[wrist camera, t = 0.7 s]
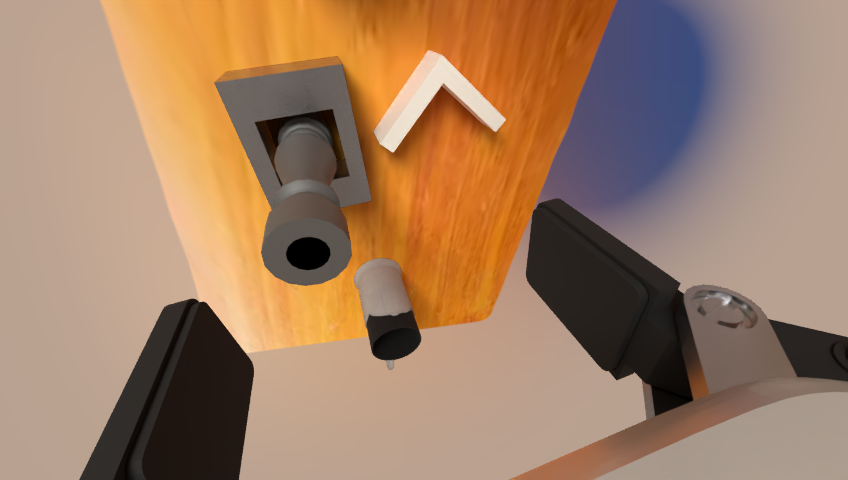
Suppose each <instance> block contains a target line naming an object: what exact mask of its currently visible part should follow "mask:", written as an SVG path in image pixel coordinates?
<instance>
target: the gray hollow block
mask: <svg viewBox="0 0 848 480" xmlns="http://www.w3.org/2000/svg"><path fill="white" fill-rule="evenodd" d="M214 83H215V86H216V88H217V90H218V92H219V94H220V97H221V99H222V101H223V103H224V105H225V108H226V110H227V112H228V114H229V116H230V118H231V121H232V123H233V125H234V127H235V129H236V132H237V134H238V136H239V138H240V140H241V143H242V145H243V147H244V149H245V151H246V154H247V156H248V158H249V160H250V162H251V165H252V167H253V169H254V171H255V173H256V176H257V178H258V180H259V182H260V184H261V187H262V189H263V191H264V193H265V195H266V198H267V200H268V202H269V204H270V206H271V209H273V206H272V204H273V201H274V197H275V194H276V192H277V191H278V190H279V189H280V187H281V186H282V185H283V184H282V182H281V179H280V177H279V175H278V173H277V171H276V167H275V162H274V158H275V154H276V150H277V149H276V146H275V143H274V141H273V138H272V136H271V133H270V131H269V128H268V125H267V123H266V120H269V119H275V118H281V117H287V116H293V115H299V114H305V113H310V112H316V111H322V110H328V109H333V113H334V117H335V121H336V125H337V129H338V133H339V137H340V141H341V145H342V149H343V153H344V156H345V158H342V159H337V160H336V163H337V170H336V172H335V175H334V178H333V180H332V183H331V185H330V187H331V188H333V189H334V191H335V193H336V195H337V196H338V198H339V201H340V208H342V207H346V206H350V205H355V204H359V203H364V202H368V201H372V199H371V194H370V190H369V185H368V180H367V176H366V171H365V167H364V162H363V157H362V153H361V148H360V144H359V139H358V134H357V130H356V125H355V121H354V116H353V111H352V107H351V102H350V98H349V93H348V88H347V84H346V79H345V74H344V70H343V65H342V63H341V61H340V60H339V58H338V57H337V56H335V57H328V58H321V59H314V60H307V61H300V62H293V63H286V64H278V65H271V66H264V67H257V68H250V69H243V70H236V71H228V72H225V73H224V74H223V75H222V76H221V77H220V78H219V79H218V80H216V81H215V82H214Z"/></svg>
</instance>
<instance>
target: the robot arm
mask: <svg viewBox="0 0 848 480" xmlns="http://www.w3.org/2000/svg"><path fill="white" fill-rule="evenodd" d="M526 278H527V281H528V282H529V284H530V285H531V287H532V288H533V289H534V290H535V291H536V292H537V294H538V295H539V296H540V297H541V298H542V300H543V301H544V302H545V303H546V304H547V305H548V307H549V308H550V309H551V310H552V311H553V312H554V314H555V315H556V316H557V317H558V318H559V319H560V321H561V322H562V323H563V324H564V325H565V326H566V328H567V329H568V330H569V331H570V332H571V333H572V335H573V336H574V337H575V338H576V339H577V341H578V342H579V343H580V344H581V345H582V347H583V348H584V349H585V350H586V351H587V352H588V354H589V355H590V356H591V357H592V358H593V360H594V361H595V362H596V363H597V364H598V365H599V366H600V367H601V368H602V369H603V370H605V371H609V372H610V373H611V374H612V375H613V377H614V378H615V379H616V380H619V379H621V378H624V377H626V376H629V375H631V374H633V373H634V372H635V373H636V374H637V375H638V376H639V377H640V378H641V379H642V384H643V393H644V401H645V410H646V418H647V420H645V421H643V422H641V423H638V424H636V425H634V426H632V427H629V428H627V429H625V430H622V431H620V432H618V433H616V434H613V435H611V436H608V437H606V438H604V439H602V440H599V441H597V442H595V443H592V444H590V445H588V446H585V447H583V448H581V449H579V450H576V451H574V452H572V453H569V454H567V455H565V456H563V457H560V458H558V459H555V460H553V461H551V462H549V463H546V464H544V465H542V466H539V467H537V468H535V469H533V470H530V471H528V472H526V473H524V474H521V475H519V476H517V477H514V478H512V479H510V480H848V337H844V336H840V335H836V334H831V333H827V332H822V331H818V330H814V329H809V328H805V327H800V326H796V325H792V324H787V323H783V322H779V321H774V320H770V319H768V318H767V316H766V315H765V314H764V312H763V311H762V310H761V308H760V307H759V306H757V305H756V304H755V303H754V302H752V301H751V300H750V299H748V298H746V297H745V296H742V295H741V294H739V293H737V292H734V291H732V290H729V289H727V288H722V287H718V286H713V285H698V286H693V287H691V288H689V289H687V290H686V292H685V293H684V294H683V293H682V292H680V291H679V290H678V288H679V285H680V283H679V282H678V281H677V280H675V279H674V278H672V277H671V276H669V275H668V274H667V273H665V272H664V271H662V270H661V269H659V268H658V267H657V266H655V265H654V264H652V263H651V262H649V261H648V260H647V259H645V258H644V257H642V256H641V255H639V254H638V253H637V252H635V251H634V250H632V249H631V248H629V247H628V246H627V245H625V244H624V243H622V242H621V241H620V240H618V239H617V238H615V237H614V236H612V235H611V234H610V233H608V232H607V231H605V230H604V229H602V228H601V227H599V226H598V225H597V224H595V223H594V222H592V221H591V220H589V219H588V218H587V217H585V216H584V215H582V214H581V213H580V212H578V211H577V210H575V209H574V208H572V207H571V206H569V205H568V204H567V203H565V202H564V201H562V200H561V199H553V200H549V201H545V202H542V203H539V204H538V206H537V209H535V210H534V211H533V215H532V224H531V233H530V242H529V252H528V259H527V268H526ZM253 377H254V368H253V364H252V361H251V360H250V358H249V357H248V356H247V355H246V353H245V352H244V351H243V349H242V348H241V347H240V345H239V344H238V343H237V342H236V340H235V339H234V338H233V336H232V335H231V334H230V332H229V331H228V330H227V329H226V327H225V326H224V325H223V323H222V322H221V321H220V319H219V318H218V317H217V316H216V314H215V313H214V312H213V310H212V309H211V308H210V307H209V305H208V304H207V303H206V302H199V301H197V300H196V299H188V300H185V301H181V302H178V303H174V304H170V305H167V306H166V307H164V309H163V310H162V312H161V314H160V316H159V318H158V320H157V322H156V324H155V326H154V328H153V331H152V332H151V334H150V337H149V339H148V341H147V343H146V345H145V347H144V349H143V351H142V353H141V355H140V357H139V359H138V361H137V363H136V365H135V368H134V369H133V371H132V373H131V375H130V377H129V379H128V382H127V383H126V386H125V388H124V390H123V392H122V394H121V396H120V398H119V400H118V402H117V404H116V406H115V408H114V410H113V412H112V414H111V416H110V418H109V420H108V422H107V424H106V427H105V428H104V431H103V433H102V435H101V437H100V439H99V441H98V443H97V445H96V447H95V449H94V451H93V453H92V455H91V457H90V459H89V461H88V463H87V465H86V467H85V469H84V471H83V473H82V475H81V477H80V480H239V474H240V467H241V460H242V453H243V446H244V439H245V432H246V425H247V417H248V411H249V404H250V396H251V390H252V384H253Z"/></svg>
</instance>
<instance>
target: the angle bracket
mask: <svg viewBox="0 0 848 480" xmlns="http://www.w3.org/2000/svg"><path fill="white" fill-rule="evenodd" d="M441 86H442V87H443V88H444V89H445V90H447V91H448V92H449V93H450V94H451V95H452V96H453V97H454V98H455V99H456V100H457V101H458V102H459V103H460V104H462V105H463V106H464V107H465V108H466V109H467V110H468V111H469V112H470V113H471V114H472V115H473V116H474V117H475V118H477V119H478V120H479V121H480V122H481V123H483V124H484V125H486V126H487V127H489V128H490V129H492V130H493V131H495V132H496V131H497V130H498V129H499V127H500V126H501V125H502V124H503V123H504V121H505V120H506V119H505V118H504V117H503V116H502V115H501V114H500V113H499V112H498V111H497V110H496V109H495V108H494V107H493V106H492V105H491V104H490V103H489V102H488V101H487V100H486V99H485V98H484V97H483V96H482V95H481V94H480V93H479V92H478V91H477V90H476V89H475V88H474V87H473V86H472V85H471V84H470V83H469V82H468V81H467V80H466V79H465V78H464V76H463V75H462V74H461V73H460V72H459V71H458V70H457V69H456V68H455V67H454V66H453V65H452V64H451V63H450V62H449V61H448V60H447V59H446V58H445V57H444V56H443V55H441V54H438V53H435V52H433V51H430V50H428V51H427V53H426V54H425V56H424V57H423V59H422V60H421V62H420V63H419V65H418V66H417V68H416V69H415V71H414V72H413V73H412V75H411V76H410V78H409V79H408V81H407V82H406V84H405V85H404V87H403V88H402V90H401V91H400V93H399V94H398V96H397V97H396V99H395V100H394V102H393V103H392V104H391V106H390V107H389V109H388V110H387V112H386V113H385V115H384V116H383V118H382V119H381V121H380V122H379V124H378V125H377V127H376V128H375V130H374V131H373V132H374V134H375V135H376V137H377V139H378V141H379V143H380V144H381V145H382V146H384V147H385V148H387V149H388V150H390V151H391V152H394V151H395V150H396V148H397V147H398V145H399V144H400V143H401V141H402V140H403V138H404V137H405V136H406V134H407V133H408V131H409V130H410V129H411V127H412V126H413V125H414V123H415V122H416V120H417V119H418V118H419V116H420V115H421V113H422V112H423V111H424V109H425V108H426V106H427V105H428V104H429V102H430V101H431V100H432V98H433V97H434V95H435V94H436V93H437V91H438V90H439V88H440V87H441Z"/></svg>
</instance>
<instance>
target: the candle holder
mask: <svg viewBox="0 0 848 480" xmlns="http://www.w3.org/2000/svg"><path fill="white" fill-rule="evenodd" d="M278 143H279V146H278V147H277V150H276V154H275V158H274V162H275V167H276V171H277V173H278V175H279V177H280V179H281V182H282V184H283V185H282V186H281V187H280V189H279V190H278V191H277V192H276V194H275V197H274V201H273V204H272V206H273V209H272V210H271V211H270V213H269V215H268V219H267V223H266V226H265V232H264V238H263V244H262V250H261V254H262V258H263V261H264V265H265V267H266V268H267V269H268V270H269V271H270V272H271V273H272V274H273V275H274V276H275V277H277V278H279V279H281V280H283V281H285V282H287V283H289V284H297V285H304V286H307V285H314V284H321V283H324V282H326V281H328V280H331V279H333V278H335V277H337V276H338V275H339V274H340V273H341V272H342V271H343V270H344V269H345V268H346V267H347V265H348V263H349V260H350V258H351V256H352V253H351V241H350V236H349V231H348V226H347V221H346V218H345V216H344V215H343V213H342V211H341V210H340V201H339V198H338V196H337V195H336V193H335V191H334V189H333V188H331V187H330V185H331V183H332V180H333V178H334V175H335V172H336V170H337V163H336V155H335V154H334V152H333V150H332V149H333V143H332V135H331V130H330V128H329V126H328V124H327V122H326V120H324V119H323V118H322V117H321V116H320V115H319V114H318V113H315V112H310V113H305V114H299V115H293V116H287V117H284V119H283V120H282V121H281V125H280V129H279V134H278Z"/></svg>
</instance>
